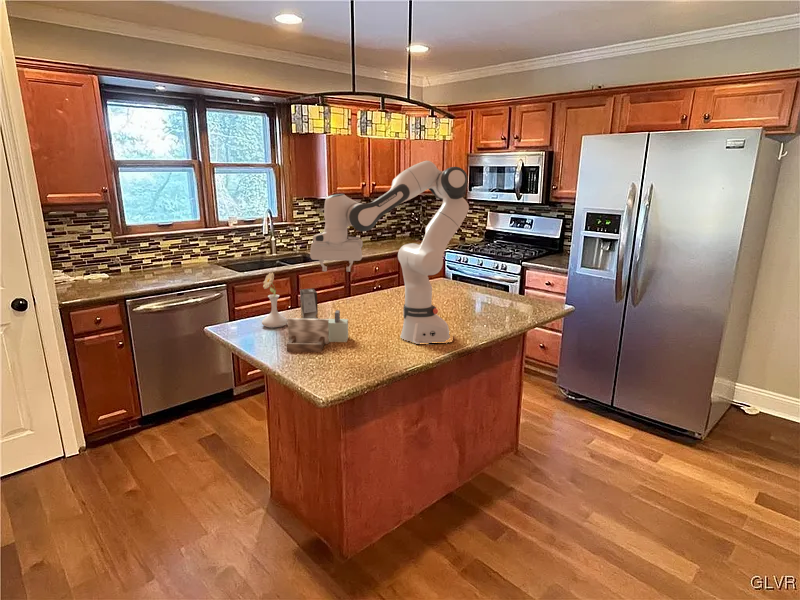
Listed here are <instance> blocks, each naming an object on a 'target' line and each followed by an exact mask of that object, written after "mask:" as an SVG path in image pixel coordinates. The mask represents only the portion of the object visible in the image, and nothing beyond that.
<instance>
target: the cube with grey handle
mask: <svg viewBox="0 0 800 600" xmlns="http://www.w3.org/2000/svg"><path fill="white" fill-rule="evenodd" d="M340 312H341V311H340V310H339V309H338V310H335V312H334V318H327V319H328V320H329V343H347V342H348V339H349V318H341V317H340V316H341V313H340Z"/></svg>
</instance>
